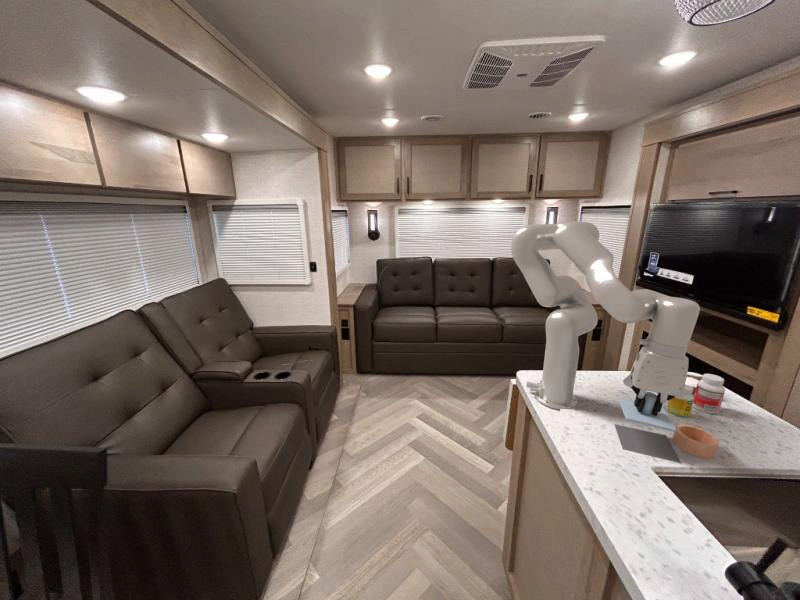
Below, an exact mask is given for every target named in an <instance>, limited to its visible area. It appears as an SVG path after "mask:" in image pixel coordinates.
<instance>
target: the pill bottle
mask: <svg viewBox="0 0 800 600" xmlns="http://www.w3.org/2000/svg"><path fill="white" fill-rule="evenodd" d="M701 377H702V380H700V381H699V382H698V383H697V387H696V391H695V395H694V401H693V405H692V407H693V408H694V409H697V410H698V411H699V412H702V413H705V414H711V415H717V414H718V413H719V412H720V410H721V407H722V406H721V405H722V403H723V398H724V395H725V393H726V392H725V391H726V388H725V386H724V384H725V378H723V377H721V376H719V375H716V374H713V373H704V374H702V376H701Z"/></svg>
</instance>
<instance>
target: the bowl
mask: <svg viewBox="0 0 800 600" xmlns="http://www.w3.org/2000/svg"><path fill="white" fill-rule="evenodd" d="M675 429H676V432H673V436H672V442H673V444H674V445H675V446H677V447H678V448H679V449H680V450H681V451H683V452H685V453H688V454H690V455H691V456H695V457H700V458H704V459H711V458H714V457H715V455H716V453H717V449H718V447H719V443H720V441H719V439H718V438H717V437H716V436H715V435H714V434H712V433H711V432H709V431H707V430H705V429H703V428H701V427H699V426H695V425H690V424H683V423H682V424H677V425H676V427H675Z"/></svg>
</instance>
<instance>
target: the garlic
mask: <svg viewBox="0 0 800 600" xmlns="http://www.w3.org/2000/svg"><path fill="white" fill-rule="evenodd" d="M698 382H699V380H697V379H694V378H693V377H687V378H686V383H685V384H686V385H689V386H691V387H697V383H698Z"/></svg>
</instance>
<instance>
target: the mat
mask: <svg viewBox="0 0 800 600" xmlns="http://www.w3.org/2000/svg"><path fill="white" fill-rule="evenodd" d="M614 428H615V431H616V434H617V436H618V439H619V442H620V446H621V447H622V450H624V451H629V452H632V453H636V454H641V455H645V456H648V457H653V458H658V459H661V460H664V461H665V460H666V461H670V462H673V463H679V464H682V461H681V460H680V458H679V456H678V454H677V452H676V450H675V449H674V446H673V445H672V444H671V441H670V439H669V438H668V437H667V435H666V434H662V433H657V432H653V431H648V430H644V429H639V428H633V427H630V426H626V425H625V426H624V425H621V424H615V423H614Z"/></svg>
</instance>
